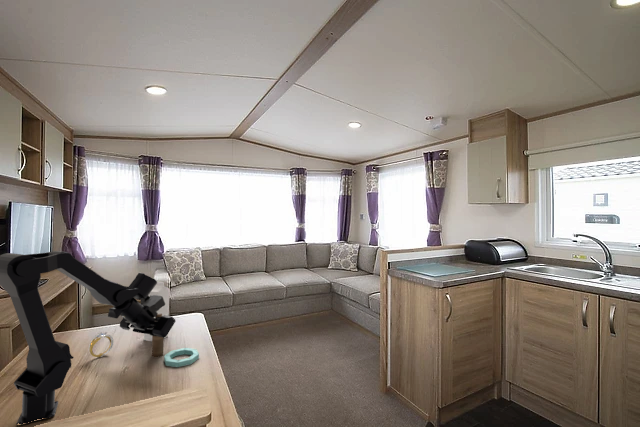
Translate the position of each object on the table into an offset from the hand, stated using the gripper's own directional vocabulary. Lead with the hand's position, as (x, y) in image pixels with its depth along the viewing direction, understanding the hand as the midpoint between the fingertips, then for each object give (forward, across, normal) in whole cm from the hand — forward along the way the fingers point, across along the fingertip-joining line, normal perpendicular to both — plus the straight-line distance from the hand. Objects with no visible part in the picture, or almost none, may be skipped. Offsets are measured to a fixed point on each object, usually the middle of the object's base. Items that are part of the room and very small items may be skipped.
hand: (161, 334), depth 105 cm
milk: (+11, +12, -2) cm, 17 cm away
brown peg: (+4, 0, +6) cm, 7 cm away
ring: (-2, +16, +11) cm, 20 cm away
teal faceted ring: (+4, -10, +5) cm, 12 cm away
